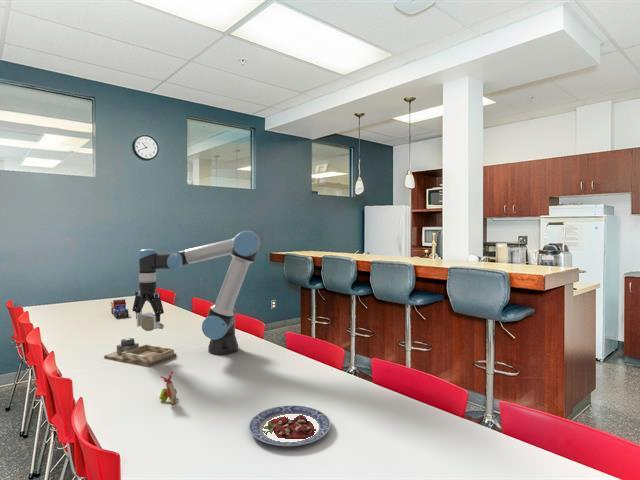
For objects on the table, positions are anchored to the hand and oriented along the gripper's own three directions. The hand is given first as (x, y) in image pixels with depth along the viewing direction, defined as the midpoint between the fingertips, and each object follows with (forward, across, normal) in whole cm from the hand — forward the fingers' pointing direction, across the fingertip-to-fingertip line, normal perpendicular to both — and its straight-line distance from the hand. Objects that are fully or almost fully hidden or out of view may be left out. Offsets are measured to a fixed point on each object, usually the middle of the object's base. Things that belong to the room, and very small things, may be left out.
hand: (148, 327), depth 196 cm
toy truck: (+16, +92, -62) cm, 112 cm away
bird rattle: (+15, -45, +32) cm, 58 cm away
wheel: (+14, +13, 0) cm, 19 cm away
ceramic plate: (+15, -94, +32) cm, 101 cm away
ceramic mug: (+1, -1, -2) cm, 2 cm away
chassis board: (+15, +5, 0) cm, 16 cm away
